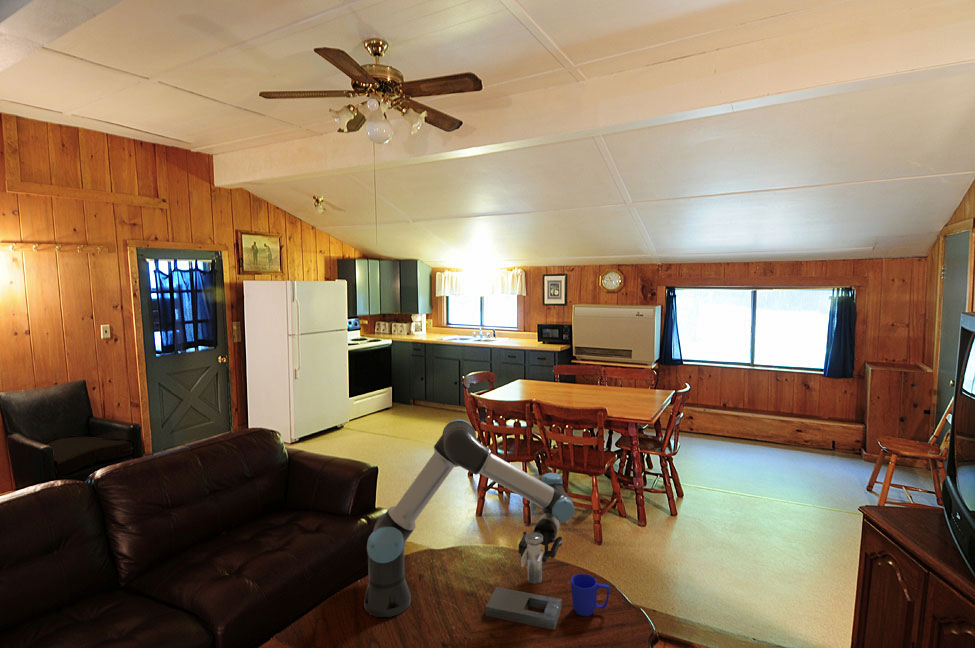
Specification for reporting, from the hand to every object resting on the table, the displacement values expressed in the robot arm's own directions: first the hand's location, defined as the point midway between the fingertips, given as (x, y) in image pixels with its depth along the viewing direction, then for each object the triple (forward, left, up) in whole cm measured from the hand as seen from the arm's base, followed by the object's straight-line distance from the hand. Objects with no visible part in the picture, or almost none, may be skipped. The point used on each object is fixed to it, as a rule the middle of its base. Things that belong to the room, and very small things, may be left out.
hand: (530, 564), depth 154 cm
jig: (-4, +5, -19) cm, 20 cm away
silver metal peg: (0, +5, -8) cm, 10 cm away
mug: (+16, +12, -19) cm, 28 cm away
